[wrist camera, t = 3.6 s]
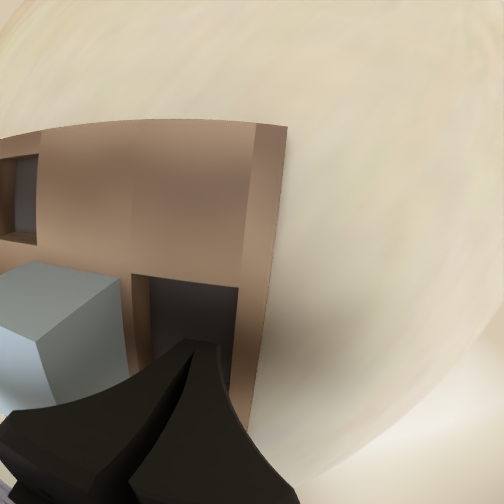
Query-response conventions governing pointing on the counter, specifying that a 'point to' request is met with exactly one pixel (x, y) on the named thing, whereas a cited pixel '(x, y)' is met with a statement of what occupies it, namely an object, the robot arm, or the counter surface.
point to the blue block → (58, 336)
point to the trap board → (156, 227)
